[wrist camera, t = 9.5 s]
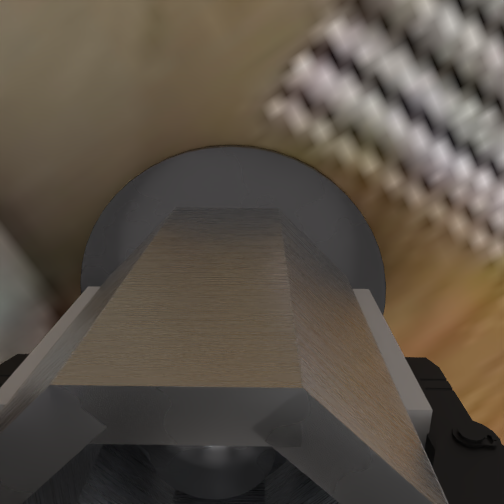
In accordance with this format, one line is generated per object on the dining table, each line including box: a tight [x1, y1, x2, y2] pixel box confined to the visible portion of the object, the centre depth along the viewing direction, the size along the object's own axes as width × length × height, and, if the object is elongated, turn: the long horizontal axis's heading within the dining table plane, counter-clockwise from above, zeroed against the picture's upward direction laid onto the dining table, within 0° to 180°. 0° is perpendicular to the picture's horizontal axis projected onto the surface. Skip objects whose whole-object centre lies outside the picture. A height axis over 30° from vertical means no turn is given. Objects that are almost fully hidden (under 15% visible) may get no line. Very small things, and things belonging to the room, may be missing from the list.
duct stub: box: [81, 145, 386, 499], centre depth 15 cm, size 12×12×9 cm
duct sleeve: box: [0, 208, 448, 504], centre depth 13 cm, size 8×8×10 cm
